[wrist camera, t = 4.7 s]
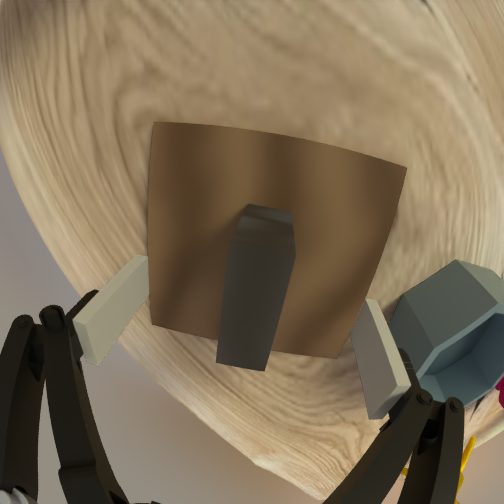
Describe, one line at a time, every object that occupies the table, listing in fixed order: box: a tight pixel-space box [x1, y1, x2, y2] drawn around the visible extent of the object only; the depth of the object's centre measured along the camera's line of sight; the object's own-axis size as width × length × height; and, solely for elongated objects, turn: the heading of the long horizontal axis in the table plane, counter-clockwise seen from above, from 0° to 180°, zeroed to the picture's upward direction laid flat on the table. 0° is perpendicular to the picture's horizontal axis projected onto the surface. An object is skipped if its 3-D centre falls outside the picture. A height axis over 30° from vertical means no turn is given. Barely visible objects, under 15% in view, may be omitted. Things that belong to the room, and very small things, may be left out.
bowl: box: [388, 260, 504, 408], centre depth 19 cm, size 14×14×7 cm
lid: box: [148, 122, 407, 371], centre depth 17 cm, size 18×18×8 cm
